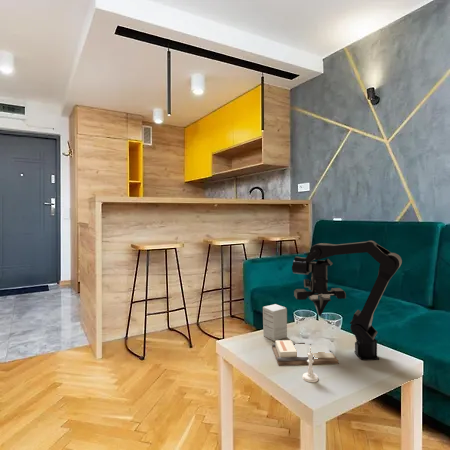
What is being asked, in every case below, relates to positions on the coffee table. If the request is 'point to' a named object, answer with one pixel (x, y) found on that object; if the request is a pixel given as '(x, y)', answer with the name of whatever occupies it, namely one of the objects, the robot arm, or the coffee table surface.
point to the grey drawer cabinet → (275, 322)
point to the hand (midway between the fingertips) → (319, 315)
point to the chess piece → (310, 370)
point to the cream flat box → (286, 348)
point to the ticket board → (305, 358)
